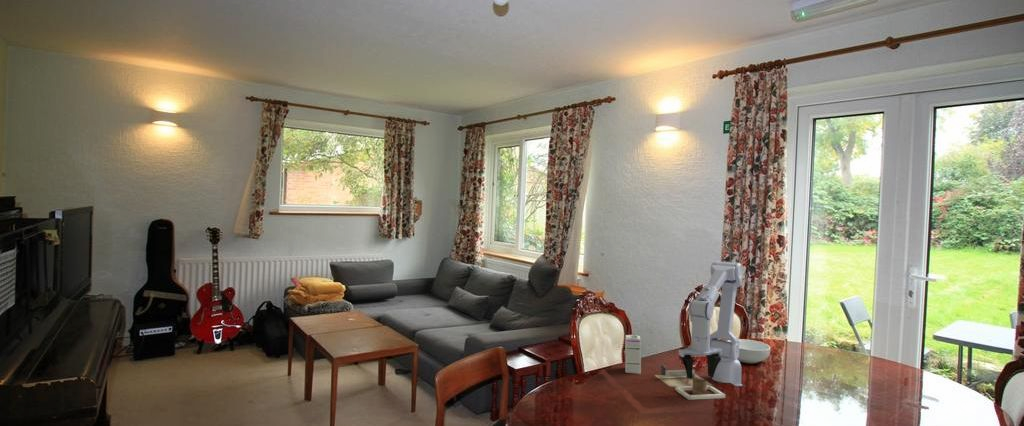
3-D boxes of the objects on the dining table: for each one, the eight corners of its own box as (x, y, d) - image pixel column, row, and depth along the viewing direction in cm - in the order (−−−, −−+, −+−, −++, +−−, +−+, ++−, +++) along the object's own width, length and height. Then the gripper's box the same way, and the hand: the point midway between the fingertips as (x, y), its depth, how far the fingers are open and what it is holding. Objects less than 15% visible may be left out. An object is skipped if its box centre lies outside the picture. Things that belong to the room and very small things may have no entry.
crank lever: (692, 374, 184) (692, 363, 184) (696, 377, 181) (696, 366, 181) (658, 375, 182) (659, 364, 182) (662, 378, 179) (663, 367, 179)
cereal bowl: (717, 357, 214) (717, 341, 214) (744, 353, 221) (744, 337, 221) (751, 369, 198) (751, 351, 198) (779, 364, 205) (779, 347, 205)
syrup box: (641, 377, 186) (641, 338, 186) (624, 376, 187) (625, 337, 187) (640, 372, 191) (640, 335, 191) (624, 371, 193) (625, 334, 193)
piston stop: (701, 393, 169) (701, 377, 169) (709, 398, 164) (709, 381, 164) (689, 394, 168) (690, 378, 168) (697, 399, 164) (697, 382, 164)
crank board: (694, 377, 187) (694, 372, 187) (712, 389, 175) (712, 383, 175) (654, 379, 184) (654, 374, 184) (669, 390, 172) (669, 385, 172)
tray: (710, 392, 171) (710, 385, 171) (725, 402, 163) (725, 394, 163) (675, 394, 169) (675, 386, 169) (688, 404, 161) (688, 396, 161)
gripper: (686, 340, 161) (685, 382, 161) (727, 338, 163) (727, 380, 163) (675, 334, 168) (675, 374, 168) (715, 333, 170) (715, 373, 170)
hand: (700, 377), depth 166 cm, fingers open, 7 cm apart
